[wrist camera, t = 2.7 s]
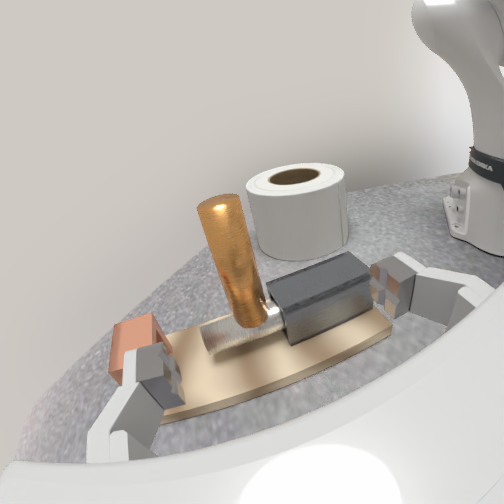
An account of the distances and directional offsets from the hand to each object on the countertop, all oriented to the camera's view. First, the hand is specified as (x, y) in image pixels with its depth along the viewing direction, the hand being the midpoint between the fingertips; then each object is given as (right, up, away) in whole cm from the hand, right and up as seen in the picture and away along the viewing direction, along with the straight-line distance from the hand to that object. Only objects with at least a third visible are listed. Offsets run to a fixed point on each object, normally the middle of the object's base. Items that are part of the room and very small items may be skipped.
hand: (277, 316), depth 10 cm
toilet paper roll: (+8, +5, +37) cm, 38 cm away
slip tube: (+2, -5, +18) cm, 19 cm away
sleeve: (+7, -4, +19) cm, 20 cm away
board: (-1, -8, +18) cm, 20 cm away
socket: (-11, -10, +16) cm, 22 cm away
